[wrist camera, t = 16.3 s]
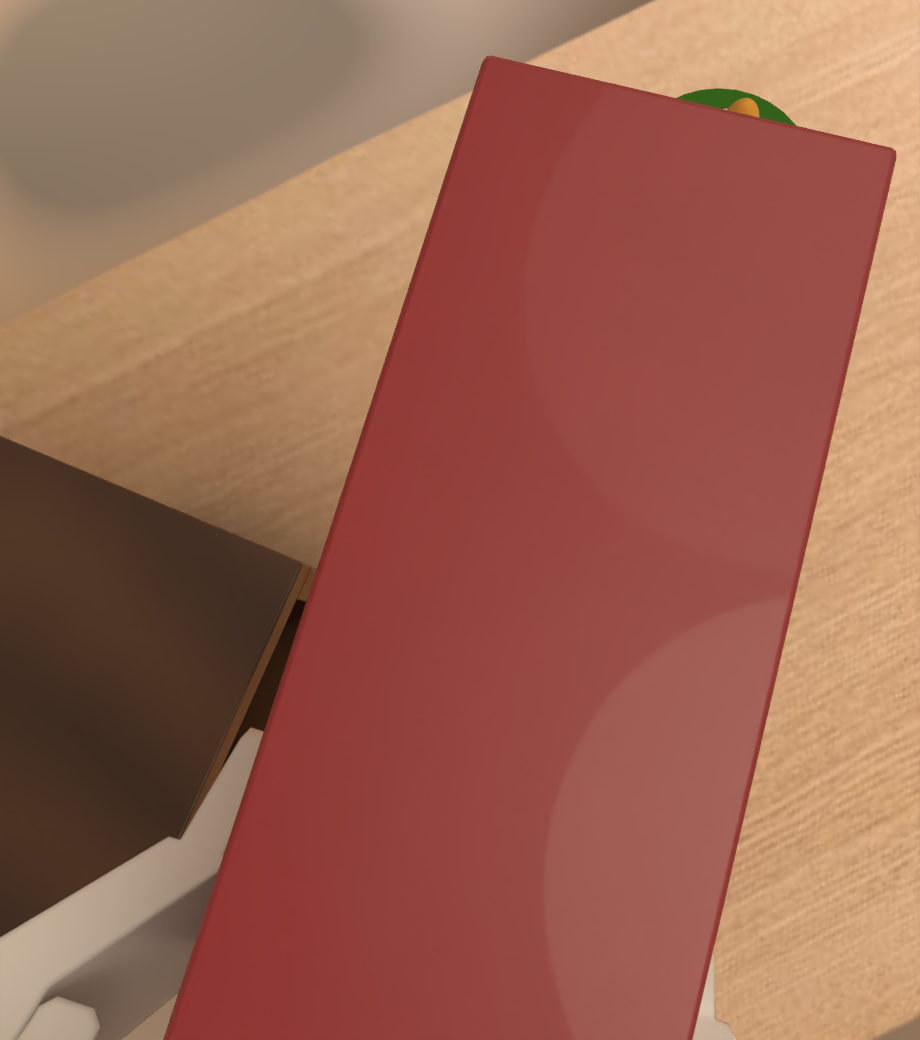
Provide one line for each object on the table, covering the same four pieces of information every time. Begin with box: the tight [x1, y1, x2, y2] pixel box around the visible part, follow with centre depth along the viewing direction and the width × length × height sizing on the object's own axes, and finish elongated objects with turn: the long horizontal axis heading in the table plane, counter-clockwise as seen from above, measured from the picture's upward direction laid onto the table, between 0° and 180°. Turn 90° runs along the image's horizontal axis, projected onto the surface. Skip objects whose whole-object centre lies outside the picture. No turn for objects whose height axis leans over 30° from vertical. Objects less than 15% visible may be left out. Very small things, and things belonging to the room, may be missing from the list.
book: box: [163, 56, 896, 1040], centre depth 11 cm, size 9×3×13 cm, turn 163°
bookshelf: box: [0, 436, 316, 937], centre depth 33 cm, size 16×12×14 cm
